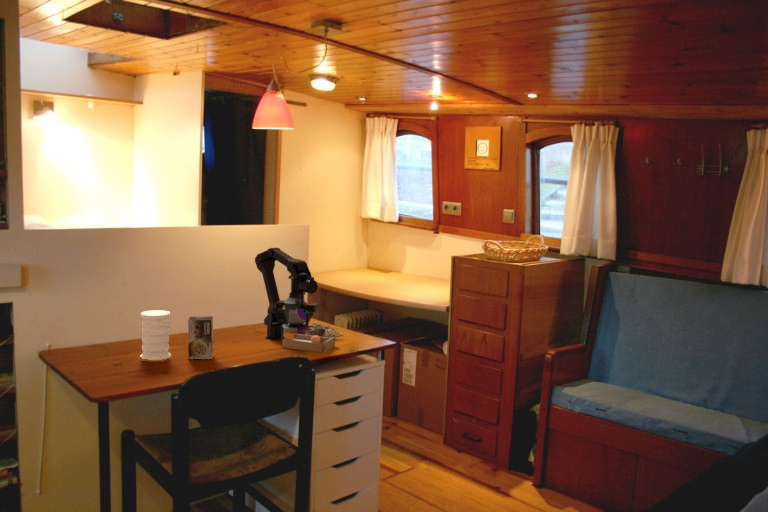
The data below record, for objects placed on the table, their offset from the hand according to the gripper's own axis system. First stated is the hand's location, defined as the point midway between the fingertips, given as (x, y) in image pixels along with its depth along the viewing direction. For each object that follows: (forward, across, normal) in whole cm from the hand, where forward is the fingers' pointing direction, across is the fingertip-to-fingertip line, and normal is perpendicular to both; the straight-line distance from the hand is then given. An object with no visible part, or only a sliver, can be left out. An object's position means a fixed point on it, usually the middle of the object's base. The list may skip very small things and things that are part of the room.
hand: (296, 325), depth 283 cm
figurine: (+9, +5, +20) cm, 22 cm away
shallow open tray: (+9, +6, 0) cm, 10 cm away
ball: (+5, +9, 0) cm, 10 cm away
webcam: (+9, -13, +28) cm, 32 cm away
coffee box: (+9, -25, -34) cm, 43 cm away
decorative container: (+9, -40, -42) cm, 59 cm away
